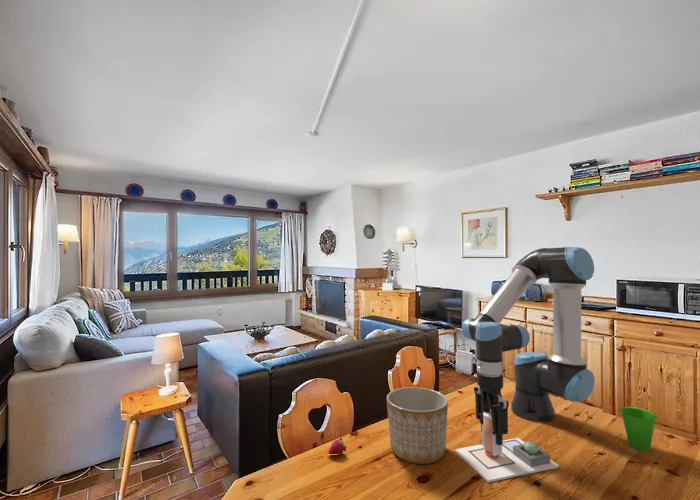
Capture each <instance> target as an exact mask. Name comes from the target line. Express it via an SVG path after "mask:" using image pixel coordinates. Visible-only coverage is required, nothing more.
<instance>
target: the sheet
mask: <svg viewBox="0 0 700 500" xmlns="http://www.w3.org/2000/svg"><path fill="white" fill-rule="evenodd" d="M502 442H503V444H502V454H501V455H499V456H498V457H490V456H488V455H486V454H485V448H484V447H483V446H482V443H481V444H478V445H477V444H476V445H471V446H466V447H459V448H456V449H454V452H455V453H456V454H457V455H458V456H459V457H461V458H462V459H463V461H465V462H466V463H467V464H468V465H469V466H470V467H471V468H472V469H473V470H474V471H475V472H476V473H478V475H479V476H480V477H482V479H483V480H485V481H486V483H493V482H498V481H503V480H506V479H512V478H517V477H520V476H521V477H522V476H525V475H526V476H527V475H530V474H534V473H535V474H536V473H538V472H539V473H540V472H544V471H548V470H553V469H557V468H559V466H560V465H559V464H558V463H556V462H555V461H553V460H552V459H550V463H549V464H544V465H539V466H535V467H530V466H528V465H527V464H526V463H524V462H523V461H522V460H520V459H519V458H518V457H516V456H515V455H514V454H513V446H517V445H522V444H524V442H525V441H523V440H522V439H520V438H519V437H515V438H510V439H503V441H502ZM530 456H531V455H530Z"/></svg>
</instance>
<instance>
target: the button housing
mask: <svg viewBox="0 0 700 500" xmlns="http://www.w3.org/2000/svg"><path fill="white" fill-rule="evenodd" d="M513 454H514V455H515V456H516V457H518V458H519V459H520V460H522V461H523V462H524V463H526V464H527V465H528V466H530V467H535V466H539V465H544V464H549V463H550V460H551V455H550V454H549V453H548V452H546V451H545V450H543V449H542V448H540V447H539V446H538V454H537V455H532V456H530V455H529V454H527V453H526V452H524V444H522V445H517V446H513Z"/></svg>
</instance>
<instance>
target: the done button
mask: <svg viewBox="0 0 700 500" xmlns="http://www.w3.org/2000/svg"><path fill="white" fill-rule="evenodd" d="M538 447H539V445H538V444H537V443H536V442H534V441H530V440H527V441H524V452H526V453H527V454H529V455H531V456H532V455H537V454H538Z"/></svg>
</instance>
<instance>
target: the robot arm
mask: <svg viewBox="0 0 700 500" xmlns="http://www.w3.org/2000/svg"><path fill="white" fill-rule="evenodd" d="M594 272H595V263H594V260H593V258H592V255H591V254H590V253H589V252H588V251H587V250H586V249H585V248H584V247H583V248H582V247H580V246H579V247H578V246H565V247H564V246H563V247H550V248H549V247H545V248H543V247H542V248H538V249H535V250H532V251H531V252H529V253H527V254H526V255H524V256H523V257H522V258H521V259H519V260H518V261H517V263H516V264H515V265H514V266H512V269H511V273H510V275H509V277H508V278H506V279H505V281H504V283H502V285H501V286H500V287H499V288H498V290H497V291H496V292H495V293H494V294H493V295H492V297H491V298H490V300H489V301H488V302H487V303H486V304H485V306H484V307H483V308H482V309H481V310H480V312H479V313H478V314H477V315H476V317H475V318H473V317H472V318H467V319H465V320H464V321H463V322H462V325H461V332H462V334H463V336H464V337H465V338H466V339H469V340H470V341H474V342H475V349H476V350H475V352H476V371H477V373H476V384H477V386H475V387H473V391H474V396H475V397H474V398H475V399H474V401H475V418H476V420H479V423H480V427H481V428H480V431H481V442H482V443H481V444H482V446H483V447H484V424H483V412H485V411H491V415H492V421H493V427H494V432H492V443H493V455H494V456H496V455H501V454H502V444H503V442H502V441H503V440H504V439H503V435H508V434H509V421H508V420H509V418H508V417H509V415H508V414H509V413H508V412H509V411H508V409H509V405H510V406H511V407H510V409H511V410H510V411H512V413H513V414H514V415H516V416H517V417H520V418H522V419H526V420H530V421H535V422H548V421H549V422H550V421H552V420H554V419H555V417H556V414H555V413H556V412H555V408H554V406H553V402H552V400H551V397H550V394H552V395H554V396H558V397H561V398H563V399H565V400H567V401H573V402H576V403H583V402H585V401H586V400H588V398H589V397H591V394H592V393H593V390H594V387H595V381H596V380H595V379H596V378H595V375H594V373H593V372H592V371H591V370H590V369H587V362H586V361H585V360H584V358H583V357H582V289H583V288H584V287H585V286H587V281H588V280H591V279H592V278H593V276H594ZM541 279H548V284H549V285H550V286H551V288H552V289H553V290H552V291H553V293H552V295H553V297H552V298H553V299H552V300H553V301H552V302H553V303H552V304H553V305H552V308H553V310H552V323H553V324H552V354H550V355H549V356H548V354H547V353H544V352H537V351H536V352H535V351H533V352H532V351H527V352H519V353H516V355H515V356H514V364H513V366H514V379H515V381H514V382H515V384H514V385H515V391H514V395H513V398H512V401H511V402H509V401H508V400H504V399H503V395H502V392H501V391H502V390H503V388H504V376H503V374H504V363H503V362H504V359H503V353H504V352H510V351H513V350H521V349H523V348H525V347H527V346H528V345H529V343H530V341H531V339H530V338H531V337H530V336H531V335H530V333H529V331H528V330H527V328H526V327H525V326H523V325H522V324H511V325H509V324H508V325H506V324H501V322H502V321H503V319H505V317H506V316H507V315H508V313H509V312H510V311H511V310H512V308H513V307H514V305H515V304H516V303H517V302H518V301H519V300H520V298H521V297H522V296H523V294H524V293H525V292H526V291H527V289H528V288H529V287H530V286H533V285H534V284H536V282H537V281H539V280H541ZM510 403H511V404H510Z"/></svg>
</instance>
